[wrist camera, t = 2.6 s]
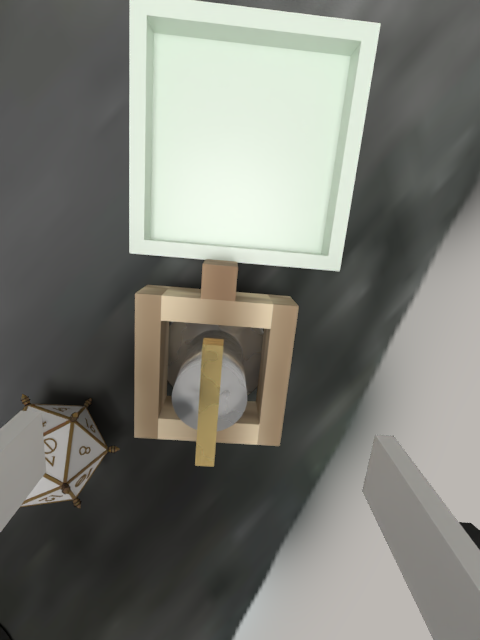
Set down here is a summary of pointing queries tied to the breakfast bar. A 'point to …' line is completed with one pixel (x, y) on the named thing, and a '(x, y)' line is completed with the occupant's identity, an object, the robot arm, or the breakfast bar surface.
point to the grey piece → (212, 378)
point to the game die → (66, 452)
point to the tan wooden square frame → (218, 309)
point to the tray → (244, 131)
